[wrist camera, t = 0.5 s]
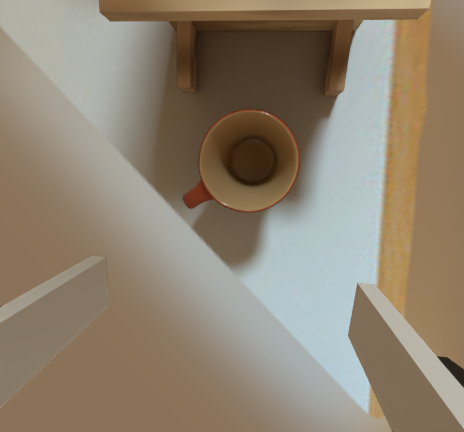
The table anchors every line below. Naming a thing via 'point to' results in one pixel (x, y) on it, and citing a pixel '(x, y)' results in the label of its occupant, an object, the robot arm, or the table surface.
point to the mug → (246, 162)
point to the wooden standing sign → (263, 24)
